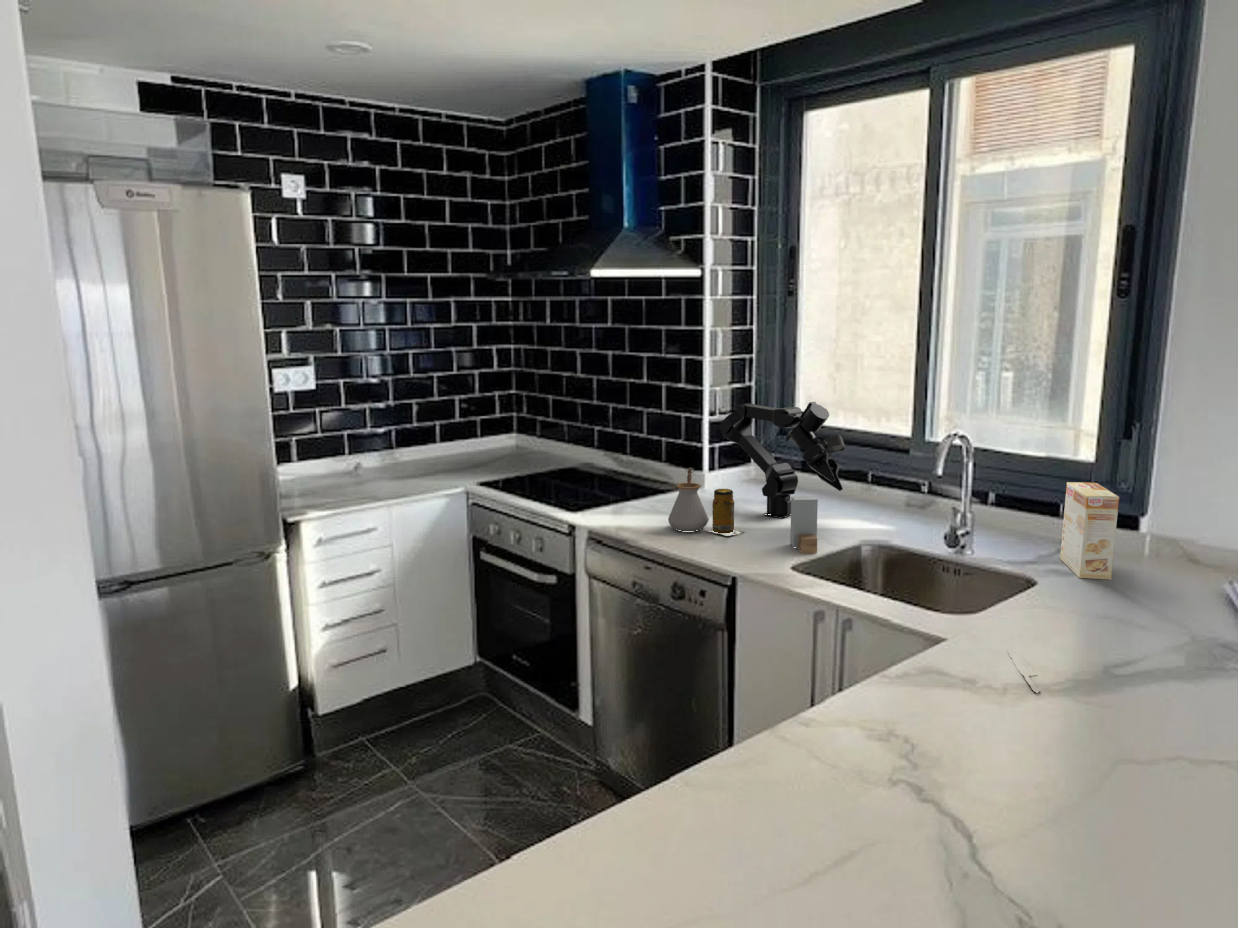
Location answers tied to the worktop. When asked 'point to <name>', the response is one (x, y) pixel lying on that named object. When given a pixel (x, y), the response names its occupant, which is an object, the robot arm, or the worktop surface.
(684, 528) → the coffee pot
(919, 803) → the worktop surface
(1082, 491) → the coffeecake box
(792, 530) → the block
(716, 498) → the condiment
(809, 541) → the walnut cube
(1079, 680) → the worktop surface
